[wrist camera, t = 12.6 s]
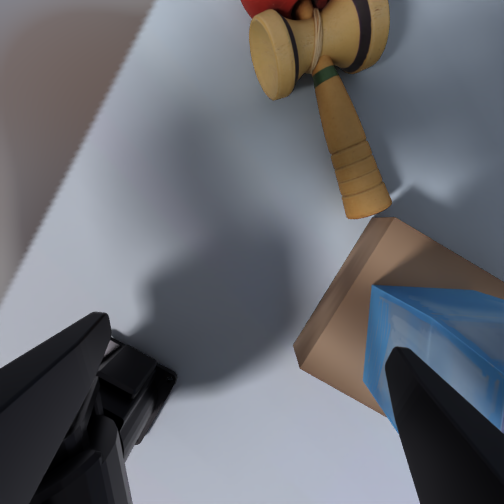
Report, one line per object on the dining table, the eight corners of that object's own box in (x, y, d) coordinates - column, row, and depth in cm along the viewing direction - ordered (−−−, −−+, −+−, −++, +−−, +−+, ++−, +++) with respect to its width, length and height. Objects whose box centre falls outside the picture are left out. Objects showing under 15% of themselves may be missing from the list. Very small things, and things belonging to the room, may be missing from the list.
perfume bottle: (460, 385, 19) (826, 679, 7) (362, 380, 19) (552, 663, 7) (473, 289, 18) (903, 425, 6) (371, 284, 18) (599, 409, 6)
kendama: (411, 182, 22) (329, -94, 18) (456, 191, 16) (349, -219, 12) (313, 221, 24) (218, -23, 20) (321, 242, 18) (187, -101, 14)
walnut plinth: (416, 415, 23) (445, 450, 19) (292, 345, 22) (299, 368, 19) (499, 293, 22) (546, 307, 18) (372, 217, 21) (394, 217, 18)
